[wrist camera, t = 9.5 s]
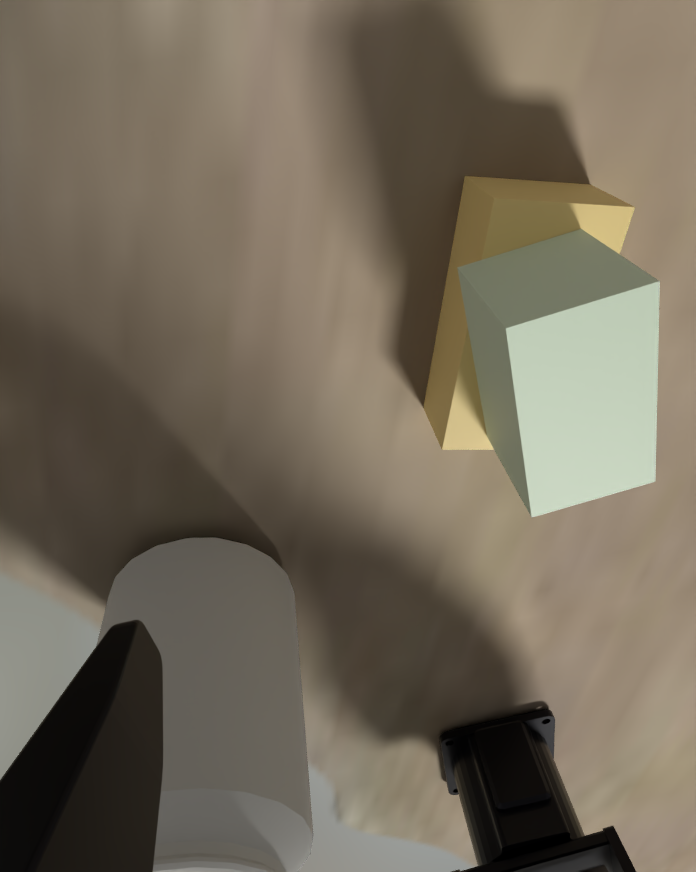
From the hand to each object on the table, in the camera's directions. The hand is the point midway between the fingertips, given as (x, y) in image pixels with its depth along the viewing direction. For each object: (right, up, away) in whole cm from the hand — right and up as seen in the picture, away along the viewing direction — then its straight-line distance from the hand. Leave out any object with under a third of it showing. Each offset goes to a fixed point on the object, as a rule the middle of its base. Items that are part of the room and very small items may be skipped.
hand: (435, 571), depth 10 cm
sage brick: (+4, +5, +9) cm, 11 cm away
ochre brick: (+4, +7, +12) cm, 14 cm away
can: (-7, -4, +17) cm, 19 cm away
